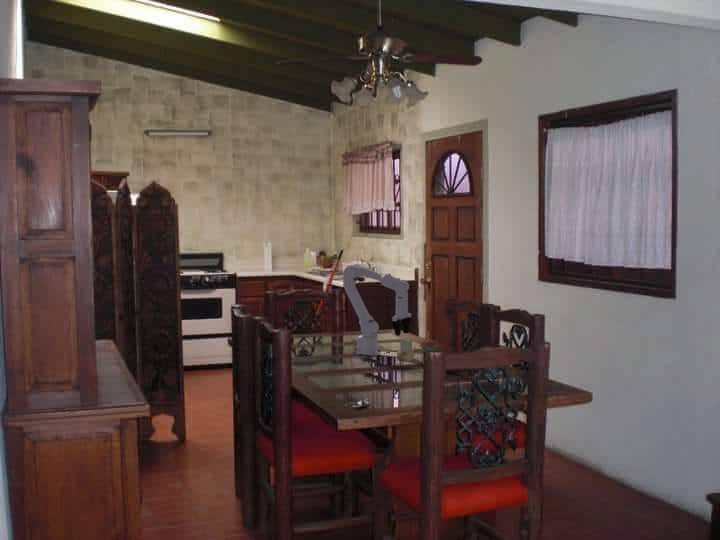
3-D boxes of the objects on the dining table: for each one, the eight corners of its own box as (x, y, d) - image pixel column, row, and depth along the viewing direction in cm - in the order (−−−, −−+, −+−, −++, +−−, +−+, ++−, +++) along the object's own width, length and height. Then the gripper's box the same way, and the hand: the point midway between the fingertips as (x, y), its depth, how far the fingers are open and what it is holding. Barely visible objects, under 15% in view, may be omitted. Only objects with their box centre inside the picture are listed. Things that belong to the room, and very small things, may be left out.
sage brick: (400, 351, 362) (400, 340, 362) (404, 350, 365) (404, 339, 365) (407, 352, 360) (407, 341, 359) (412, 350, 363) (412, 340, 363)
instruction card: (375, 355, 373) (375, 354, 373) (382, 351, 382) (382, 351, 382) (399, 356, 369) (399, 356, 369) (405, 353, 377) (405, 352, 377)
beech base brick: (396, 360, 362) (396, 352, 361) (401, 358, 367) (401, 349, 367) (408, 361, 359) (408, 352, 359) (413, 359, 364) (413, 350, 364)
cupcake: (436, 356, 369) (436, 331, 368) (418, 355, 371) (418, 330, 370) (438, 352, 378) (438, 328, 377) (421, 352, 379) (421, 327, 378)
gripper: (401, 308, 361) (401, 337, 362) (416, 304, 373) (416, 332, 374) (388, 307, 365) (388, 336, 366) (403, 303, 377) (403, 331, 378)
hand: (401, 334), depth 370 cm, fingers open, 7 cm apart
